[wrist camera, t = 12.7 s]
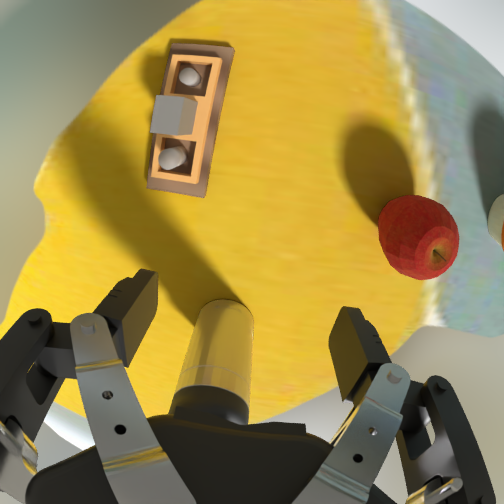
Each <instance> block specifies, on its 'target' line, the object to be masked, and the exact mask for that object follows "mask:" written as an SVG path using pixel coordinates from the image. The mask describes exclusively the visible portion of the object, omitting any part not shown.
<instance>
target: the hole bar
mask: <svg viewBox="0 0 504 504" xmlns="http://www.w3.org/2000/svg"><path fill="white" fill-rule="evenodd" d="M181 63H190V64H202V65H212V68H211V72H210V77H209V81H208V86H207V90H206V95H205V97H203V96H194V95H184V94H174V91H175V86H176V82H177V77H178V73H179V68H180V64H181ZM221 65H222V59H221V58H217V57H207V56H194V55H175V54H173V55H172V59H171V63H170V68H169V72H168V76H167V81H166V86H165V90H164V95H156V100H155V105H154V110H153V116H152V122H151V128H150V133H157V135H156V142H155V149H154V156H153V164H152V173H151V177H155V178H162V179H168V180H174V181H180V182H186V183H192V184H197V183H198V182H199V177H200V171H201V165H202V159H203V153H204V147H205V142H206V136H207V131H208V126H209V121H210V116H211V111H212V106H213V101H214V96H215V91H216V87H217V82H218V78H219V74H220V69H221ZM166 138H174V139H181V140H189V141H196V147H195V153H194V159H193V165H192V172H191V174H185V173H179V172H173V171H166V170H162V167H161V166H160V165H159V162H158V157H159V154H160V153H161V152H162V151H163V150H164V148H165V141H166Z"/></svg>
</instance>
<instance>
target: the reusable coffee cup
mask: <svg viewBox="0 0 504 504" xmlns="http://www.w3.org/2000/svg"><path fill="white" fill-rule="evenodd" d="M488 230H489V233H490V235H491V237H492V238H493V239H494V240H495V241H496V242H497V243H498V244H499V245H500V246H501V247H502V248H503V251H504V194H502V195H500V196H499V197H497V198H496V200H495V201H494V203H493V204H492V206H491V209H490V212H489V216H488Z"/></svg>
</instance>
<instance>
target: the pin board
mask: <svg viewBox="0 0 504 504" xmlns="http://www.w3.org/2000/svg"><path fill="white" fill-rule="evenodd" d="M234 52H235V50H234V48H231V47H223V46H213V45H200V44H181V43H172V46H171V49H170V53H169V57H168V61H167V66H166V70H165V74H164V79H163V83H162V88H161V93H160V95H164V90H165V86H166V81H167V76H168V72H169V68H170V63H171V59H172V55H173V54H175V55H194V56H207V57H217V58H221V59H222V65H221V69H220V74H219V78H218V82H217V87H216V91H215V96H214V101H213V106H212V111H211V116H210V121H209V126H208V131H207V136H206V142H205V147H204V153H203V159H202V165H201V171H200V177H199V182H198V183H197V184H192V183H186V182H180V181H174V180H168V179H162V178H155V177H151V173H152V164H153V156H154V149H155V142H156V135H157V133H153V139H152V146H151V154H150V162H149V170H148V179H147V188H148V189H155V190H161V191H167V192H172V193H178V194H184V195H190V196H195V197H201V198H204V197H205V196H206V191H207V185H208V179H209V173H210V167H211V162H212V156H213V151H214V145H215V140H216V135H217V130H218V124H219V119H220V115H221V110H222V105H223V100H224V96H225V91H226V86H227V82H228V78H229V73H230V69H231V65H232V60H233V56H234ZM211 68H212V65H202V64H190V63H181V64H180V68H179V73H178V77H177V82H176V86H175V91H174V94H184V95H194V96H203V97H205V95H206V90H207V86H208V81H209V77H210V72H211ZM195 147H196V141H189V140H181V139H174V138H166V141H165V148H164V150H163V151H162V152H161V153H160V154H159V157H158V162H159V165H160V166H161V167H162V170H166V171H173V172H179V173H185V174H191V172H192V165H193V159H194V153H195Z"/></svg>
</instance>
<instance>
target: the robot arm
mask: <svg viewBox="0 0 504 504" xmlns="http://www.w3.org/2000/svg"><path fill="white" fill-rule="evenodd" d="M157 305H158V273H157V272H155V271H150V270H145V269H140V270H139V271H138V272H137V273H136V274H135V276H134V277H133V278H129V277H127V278H125V279H123V280H121V281H119V282H118V283H117V284H116V285H115V286H114V287H113V289H112V290H111V291H110V292H109V293H108V295H107V296H106V297H105V298H104V299H103V300H102V302H101V303H100V304H99V305H98V307H97V308H96V309H95V310H94V311H93V313H85V314H81V315H79V316H77V317H75V318H74V319H73V320H72V322H71V323H60V322H53V321H52V318H51V315H50V313H49V312H48V311H46V310H44V309H40V308H36V309H31V310H28V311H26V312H25V313H24V314H23V315H22V316H21V317H20V318H19V319H18V320H17V321H16V322H15V323H14V325H13V326H12V327H11V328H10V329H9V330H8V332H7V333H6V334H5V335H4V336H3V337H2V339H1V340H0V491H2V492H6V493H7V494H9V495H10V496H12V497H13V498H15V499H16V500H18V501H19V502H21V503H23V504H397V503H395V502H394V501H393V500H392V499H391V498H390V497H388V496H387V495H386V494H385V493H384V492H383V491H381V490H380V489H379V488H378V487H377V486H376V485H375V484H373V482H374V481H375V478H376V477H377V475H378V473H379V471H380V469H381V467H382V465H383V463H384V461H385V459H386V457H387V454H388V452H389V450H390V448H391V445H392V443H393V441H394V439H395V437H396V441H397V445H398V449H399V454H400V458H401V462H402V467H403V471H404V476H405V481H406V486H407V492H408V499H407V500H406V503H405V504H496V498H495V494H494V490H493V487H492V484H491V481H490V477H489V474H488V471H487V468H486V465H485V462H484V460H483V457H482V454H481V451H480V449H479V446H478V444H477V441H476V439H475V436H474V434H473V431H472V429H471V426H470V424H469V422H468V419H467V417H466V415H465V413H464V410H463V408H462V406H461V404H460V402H459V400H458V398H457V396H456V393H455V392H454V390H453V387H452V386H451V384H450V383H449V382H448V381H447V380H446V379H444V378H443V377H441V376H436V375H435V376H431V377H430V378H428V380H427V381H426V382H425V384H423V383H419V382H416V381H412V380H410V376H409V374H408V373H407V371H406V370H405V369H404V368H402V367H401V366H399V365H397V364H393V363H392V362H391V360H390V358H389V355H388V353H387V351H386V349H385V347H384V345H383V344H382V341H381V339H380V337H379V334H378V332H377V330H376V328H375V327H374V326H373V325H372V324H371V323H370V322H369V321H368V320H365V318H364V316H363V314H362V312H361V310H360V309H359V308H353V307H346V306H343V307H342V308H341V310H340V312H339V314H338V317H337V319H336V321H335V324H334V326H333V328H332V331H331V333H330V336H329V349H330V353H331V357H332V361H333V365H334V369H335V373H336V377H337V381H338V385H339V388H340V393H341V397H342V401H343V402H344V403H353V404H354V407H353V408H352V410H351V411H350V412H349V414H348V416H347V417H346V419H345V420H344V422H343V423H342V425H341V426H340V428H339V429H338V431H337V432H336V434H335V435H334V436H333V438H332V439H331V441H330V442H329V443H328V442H326V441H325V440H323V439H321V438H319V437H317V436H315V435H312V434H310V433H306V425H305V424H301V423H284V422H269V423H260V424H249V425H248V419H249V402H250V383H251V366H252V348H253V332H254V320H253V316H252V314H251V313H250V311H249V310H248V309H247V308H246V307H245V306H243V305H242V304H240V303H238V302H235V301H232V300H226V299H221V300H215V301H212V302H209V303H207V304H206V305H205V306H204V307H203V308H202V309H201V310H200V313H199V316H198V319H197V322H196V325H195V328H194V331H193V334H192V337H191V340H190V344H189V347H188V350H187V353H186V357H185V360H184V363H183V366H182V370H181V373H180V376H179V380H178V383H177V387H176V390H175V394H174V397H173V400H172V404H171V407H170V410H169V413H168V414H166V415H157V416H152V417H149V418H146V417H145V415H144V413H143V410H142V408H141V406H140V404H139V402H138V399H137V397H136V395H135V392H134V390H133V388H132V385H131V383H130V380H129V378H128V375H127V373H126V370H125V368H124V367H127V368H128V367H129V365H130V363H131V361H132V359H133V357H134V355H135V353H136V351H137V349H138V347H139V345H140V343H141V341H142V339H143V337H144V335H145V334H146V332H147V330H148V328H149V326H150V324H151V322H152V320H153V318H154V316H155V314H156V311H157ZM33 363H34V364H33ZM32 364H33V365H32ZM31 366H32V367H31ZM30 367H31V368H30ZM29 369H30V370H29ZM28 370H29V371H28ZM27 372H28V373H27ZM65 378H71V379H77V381H78V385H79V389H80V394H81V398H82V402H83V405H84V409H85V413H86V416H87V420H88V423H89V426H90V429H91V433H92V436H93V439H94V442H95V445H94V446H92V447H90V448H88V449H86V450H84V451H82V452H80V453H78V454H76V455H74V456H71V457H69V458H67V459H65V460H63V461H60V462H58V463H56V464H54V465H52V466H49V467H47V468H44V469H42V470H41V471H39V472H38V473H37V470H36V467H37V460H38V453H37V449H36V447H35V445H34V444H33V442H34V440H35V438H36V436H37V433H38V431H39V429H40V427H41V425H42V423H43V421H44V419H45V417H46V414H47V412H48V410H49V408H50V406H51V404H52V403H53V401H54V399H55V397H56V395H57V393H58V391H59V389H60V387H61V385H62V384H63V382H64V380H65ZM430 422H431V423H432V426H433V429H434V432H435V441H434V443H433V445H431V442H430V439H429V436H428V433H427V430H426V426H427V424H428V423H430Z"/></svg>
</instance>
